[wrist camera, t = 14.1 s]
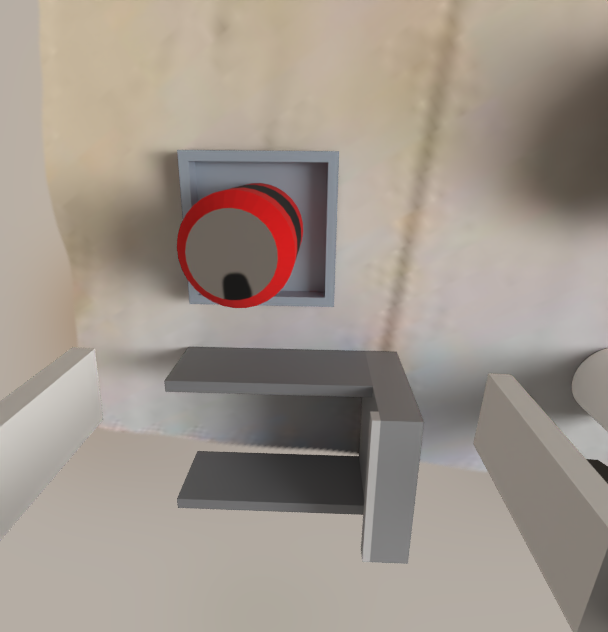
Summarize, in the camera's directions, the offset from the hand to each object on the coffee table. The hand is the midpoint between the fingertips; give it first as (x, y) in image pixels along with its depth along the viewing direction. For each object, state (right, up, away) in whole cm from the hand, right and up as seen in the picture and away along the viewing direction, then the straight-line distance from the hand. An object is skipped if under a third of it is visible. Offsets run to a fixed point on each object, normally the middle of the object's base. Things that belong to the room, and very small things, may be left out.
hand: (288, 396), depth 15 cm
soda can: (-3, +10, +23) cm, 26 cm away
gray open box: (-1, -7, +30) cm, 30 cm away
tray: (-3, +10, +24) cm, 26 cm away
